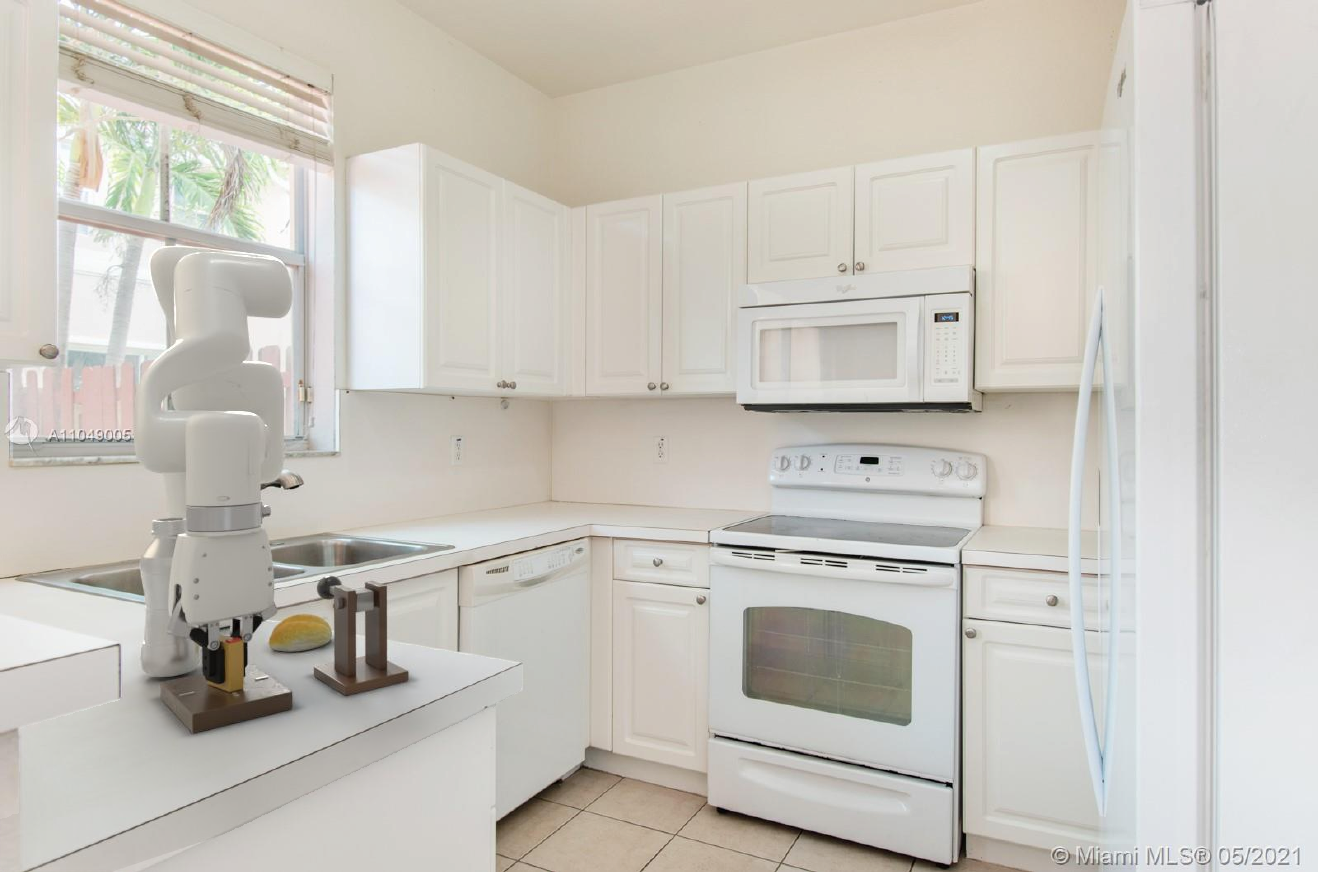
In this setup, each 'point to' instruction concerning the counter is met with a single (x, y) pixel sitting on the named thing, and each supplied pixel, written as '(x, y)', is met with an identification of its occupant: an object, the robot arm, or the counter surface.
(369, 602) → the door lever
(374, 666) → the handle bracket
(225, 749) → the counter surface
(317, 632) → the bread roll
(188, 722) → the plate
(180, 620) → the robot arm
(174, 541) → the plastic bottle
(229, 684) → the lock knob
